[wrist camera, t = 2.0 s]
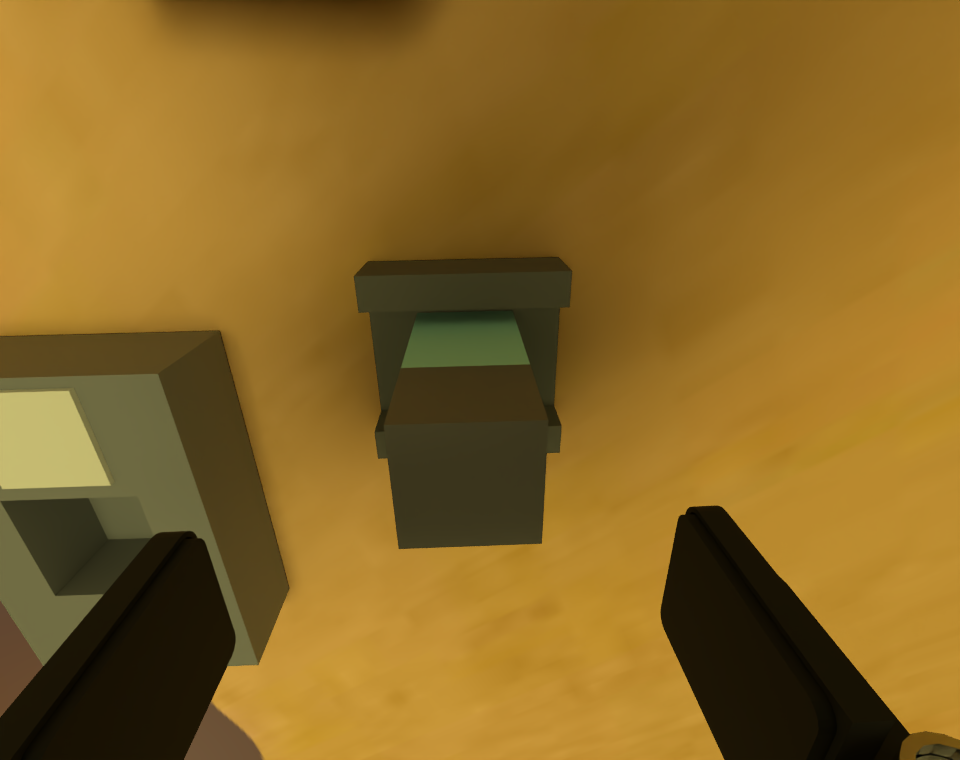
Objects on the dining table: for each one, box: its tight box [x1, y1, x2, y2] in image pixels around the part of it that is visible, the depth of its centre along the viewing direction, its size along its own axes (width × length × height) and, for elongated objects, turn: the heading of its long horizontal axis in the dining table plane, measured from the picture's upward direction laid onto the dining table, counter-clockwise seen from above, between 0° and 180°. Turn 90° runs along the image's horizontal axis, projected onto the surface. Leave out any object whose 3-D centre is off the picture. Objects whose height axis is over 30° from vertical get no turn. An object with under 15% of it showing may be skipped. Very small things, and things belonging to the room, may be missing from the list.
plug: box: [384, 311, 548, 549], centre depth 14 cm, size 4×4×8 cm
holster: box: [354, 257, 572, 459], centre depth 17 cm, size 7×7×2 cm
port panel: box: [0, 331, 289, 666], centre depth 19 cm, size 14×9×4 cm, turn 1°
